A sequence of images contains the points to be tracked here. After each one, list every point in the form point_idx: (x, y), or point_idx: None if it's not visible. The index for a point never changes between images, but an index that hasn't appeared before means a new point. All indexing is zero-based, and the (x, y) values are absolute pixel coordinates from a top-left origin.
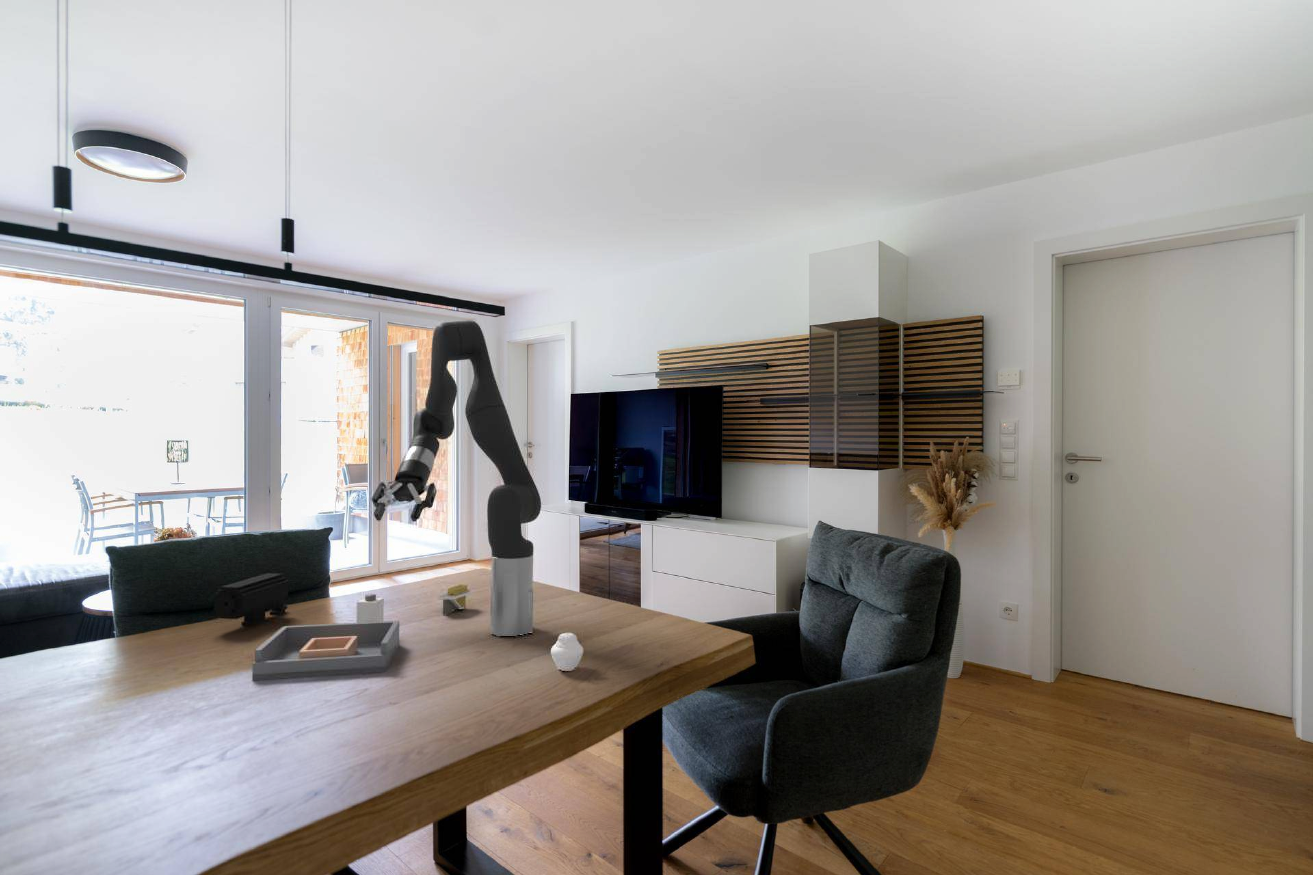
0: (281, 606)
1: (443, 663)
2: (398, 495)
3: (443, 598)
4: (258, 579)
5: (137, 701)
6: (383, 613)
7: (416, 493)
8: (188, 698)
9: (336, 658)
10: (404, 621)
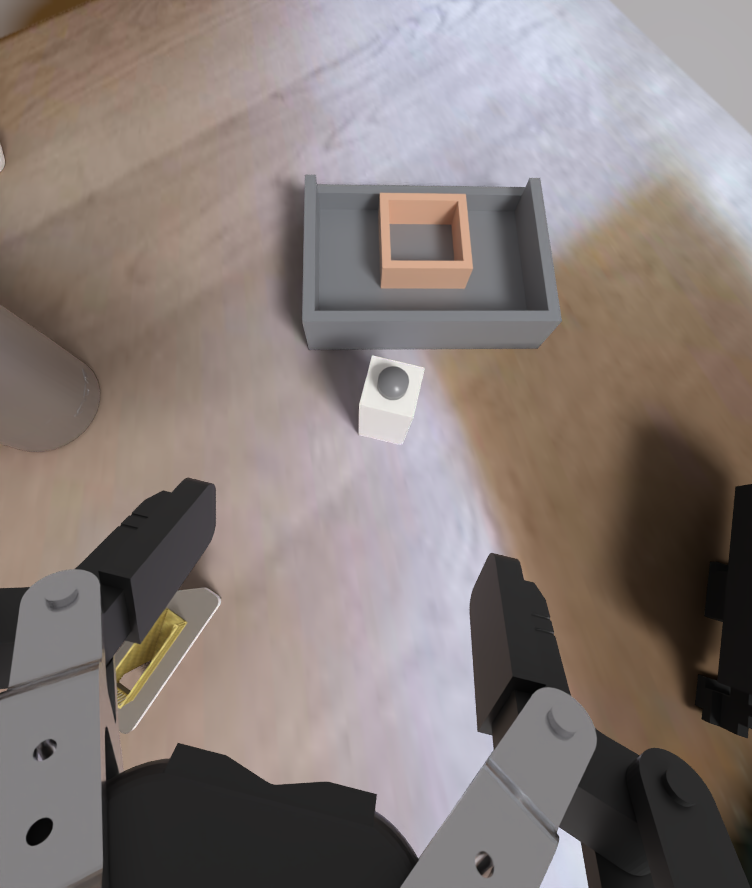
0: (720, 710)
1: (210, 229)
2: (337, 806)
3: (200, 588)
4: None
5: (639, 164)
6: (359, 419)
7: (17, 716)
8: (575, 161)
9: (393, 185)
10: (324, 543)
